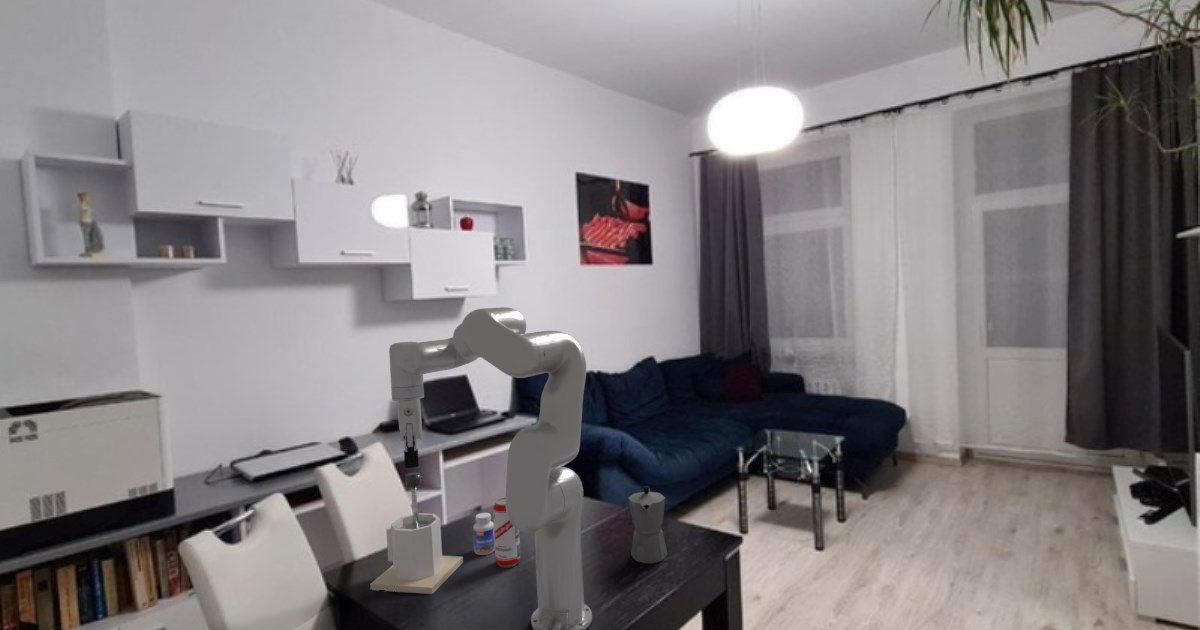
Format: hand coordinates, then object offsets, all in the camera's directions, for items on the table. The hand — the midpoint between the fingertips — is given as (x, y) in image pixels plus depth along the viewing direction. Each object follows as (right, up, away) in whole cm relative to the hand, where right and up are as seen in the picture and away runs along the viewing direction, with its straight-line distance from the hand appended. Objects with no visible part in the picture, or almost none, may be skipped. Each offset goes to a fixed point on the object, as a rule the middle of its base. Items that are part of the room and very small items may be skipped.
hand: (411, 466), depth 143 cm
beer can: (+23, -26, +5) cm, 35 cm away
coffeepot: (+59, -24, +7) cm, 64 cm away
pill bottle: (+15, -26, +13) cm, 33 cm away
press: (+1, -27, +1) cm, 27 cm away
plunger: (+1, -16, 0) cm, 16 cm away
